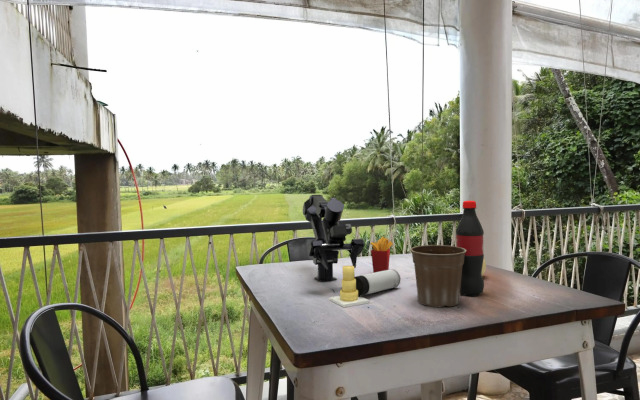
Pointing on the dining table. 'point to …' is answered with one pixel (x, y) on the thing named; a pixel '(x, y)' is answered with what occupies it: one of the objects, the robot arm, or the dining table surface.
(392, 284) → the travel mug
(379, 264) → the french fries
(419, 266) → the plant pot
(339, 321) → the dining table surface
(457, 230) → the cola bottle
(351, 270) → the yellow domed knob
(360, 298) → the tile
